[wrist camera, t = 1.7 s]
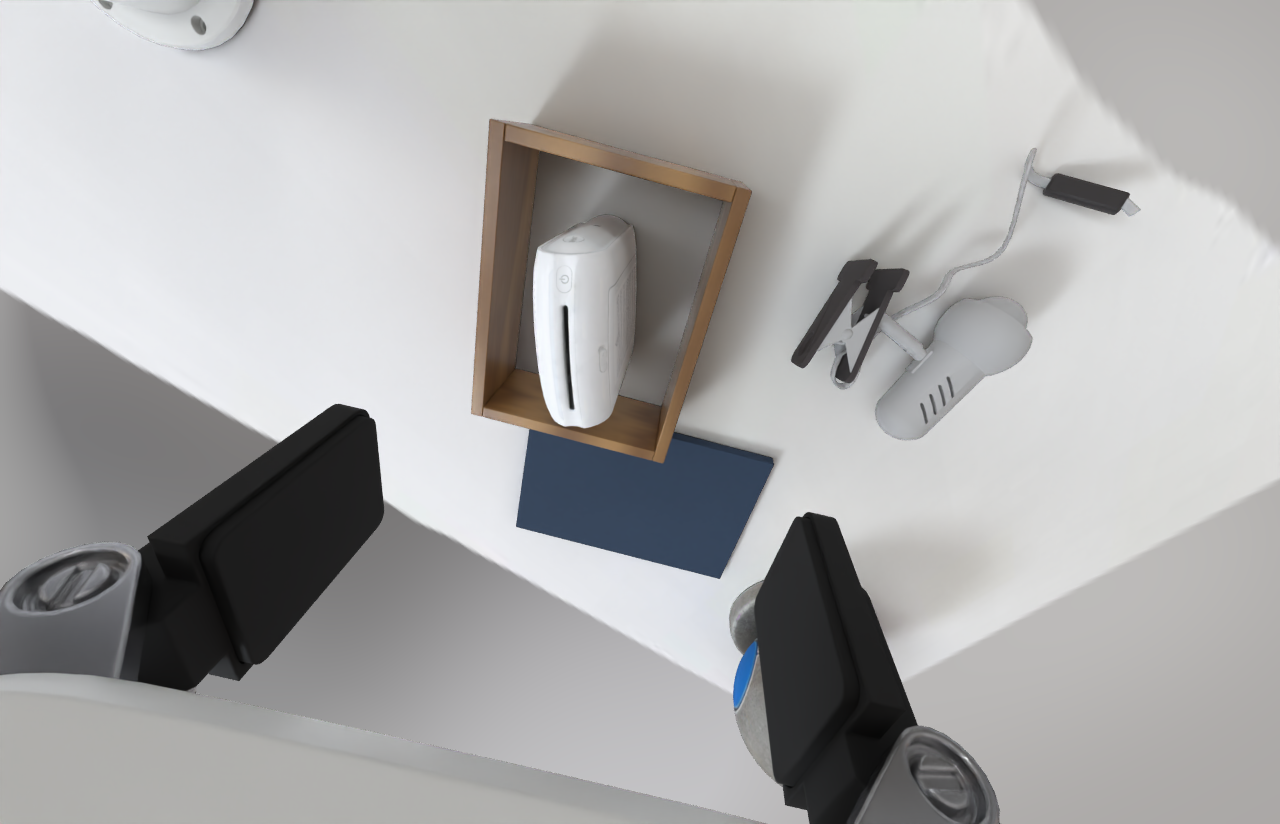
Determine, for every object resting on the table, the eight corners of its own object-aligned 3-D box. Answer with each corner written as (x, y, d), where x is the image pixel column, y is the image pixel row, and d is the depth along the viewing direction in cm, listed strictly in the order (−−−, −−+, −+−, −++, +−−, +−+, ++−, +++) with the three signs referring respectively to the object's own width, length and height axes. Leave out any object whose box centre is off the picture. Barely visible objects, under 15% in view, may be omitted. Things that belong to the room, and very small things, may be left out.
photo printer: (575, 211, 31) (510, 245, 21) (640, 213, 31) (607, 249, 20) (581, 355, 36) (532, 443, 26) (637, 359, 36) (610, 449, 25)
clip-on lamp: (969, 113, 29) (771, 347, 33) (1051, 68, 23) (795, 362, 27) (1100, 236, 30) (894, 444, 35) (1210, 224, 24) (942, 480, 29)
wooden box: (504, 374, 38) (470, 413, 32) (529, 123, 29) (489, 118, 24) (668, 417, 38) (663, 464, 33) (742, 182, 29) (752, 190, 24)
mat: (519, 519, 46) (515, 527, 45) (536, 395, 39) (533, 401, 38) (719, 571, 46) (719, 579, 45) (772, 457, 39) (774, 464, 38)
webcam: (828, 669, 51) (872, 847, 38) (713, 643, 51) (718, 812, 38) (882, 591, 45) (956, 772, 32) (750, 561, 45) (771, 730, 32)
